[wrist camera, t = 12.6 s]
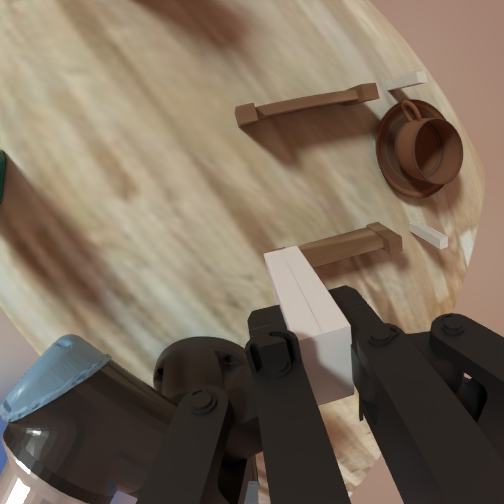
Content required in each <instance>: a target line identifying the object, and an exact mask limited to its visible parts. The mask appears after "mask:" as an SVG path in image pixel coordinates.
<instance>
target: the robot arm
mask: <svg viewBox="0 0 504 504" xmlns="http://www.w3.org/2000/svg"><path fill="white" fill-rule="evenodd" d="M264 257H265V261H266V266H267V270H268V274H269V279H270V283H271V287H272V291H273V296H274V300H275V304H276V305H275V306H271V307H267V308H263V309H259V310H255V311H252V312H251V314H250V316H249V318H248V327H249V334H250V340H249V341H248V342H247V344H246V346H245V350H244V349H243V348H242V347H240V346H238V345H237V344H235V343H232V342H230V341H227V340H224V339H220V338H215V337H191V338H186V339H183V340H180V341H177V342H175V343H173V344H172V345H170V346H169V347H167V348H166V349H165V350H164V351H163V352H162V353H161V355H160V356H159V358H158V360H157V363H156V367H155V370H154V375H153V383H154V388H152V387H151V386H149V385H147V384H146V383H144V382H143V381H141V380H140V379H138V378H137V377H135V376H134V375H133V374H131V373H130V372H128V371H127V370H125V369H124V368H122V367H121V366H120V365H118V364H117V363H115V362H114V361H113V360H111V358H112V357H111V356H110V355H109V354H104V353H102V352H101V351H100V350H98V349H97V348H95V347H94V346H92V345H91V344H90V343H88V342H87V341H85V340H84V339H83V338H81V337H79V336H77V335H72V334H69V335H64V336H62V337H60V338H59V339H58V340H57V341H55V342H54V343H53V344H52V345H51V346H50V347H49V348H48V349H47V350H46V351H45V352H44V354H43V355H42V356H41V357H40V358H39V359H38V360H37V361H36V362H35V363H34V365H33V366H32V367H31V368H30V369H29V370H28V371H27V372H26V373H25V375H24V376H23V377H22V378H21V380H20V381H19V382H18V383H17V384H16V385H15V387H14V388H13V389H12V390H11V392H10V393H9V394H8V396H7V397H6V399H5V400H4V402H3V403H2V404H1V405H0V415H1V416H2V418H3V420H4V421H5V422H6V423H9V424H8V426H7V427H6V430H5V431H4V433H3V435H2V443H3V445H4V448H5V450H6V453H7V456H8V461H7V463H6V465H5V467H4V469H3V471H2V473H1V475H0V504H110V502H111V500H112V498H113V497H114V495H115V493H116V491H121V492H124V493H126V494H128V495H131V496H133V497H135V498H138V500H137V502H136V504H258V488H259V486H260V485H259V482H258V474H257V466H256V457H255V454H257V453H260V452H262V451H263V454H264V461H265V468H266V475H267V481H268V488H269V494H270V501H271V504H351V502H350V499H349V496H348V493H347V490H346V487H345V484H344V481H343V478H342V475H341V472H340V469H339V466H338V463H337V460H336V457H335V454H334V451H333V448H332V446H331V443H330V440H329V437H328V434H327V431H326V428H325V425H324V422H323V419H322V417H321V414H320V411H319V408H318V406H319V405H322V404H325V403H329V402H332V401H335V400H339V399H342V398H345V397H348V396H351V395H354V385H355V387H356V389H357V391H358V393H359V419H360V421H362V420H363V414H364V416H365V418H366V421H367V423H368V425H369V427H370V429H371V431H372V433H373V436H374V438H375V440H376V442H377V444H378V446H379V449H380V451H381V453H382V455H383V457H384V459H385V462H386V464H387V466H388V468H389V470H390V473H391V475H392V477H393V480H394V482H395V484H396V486H397V489H398V491H399V493H400V495H401V498H402V500H403V502H404V504H504V337H502V336H500V335H499V334H497V333H495V332H493V331H491V330H490V329H488V328H486V327H484V326H483V325H481V324H479V323H477V322H475V321H473V320H472V319H470V318H468V317H466V316H463V315H461V314H454V313H449V314H443V315H441V316H439V317H437V318H436V319H435V320H434V321H433V322H432V325H431V330H430V331H428V332H421V333H414V334H405V333H404V332H403V331H402V330H401V329H400V328H399V327H397V326H395V325H392V324H389V323H383V321H382V320H381V319H380V318H379V317H378V315H377V314H376V313H375V312H374V311H373V309H372V308H371V307H370V306H369V304H367V302H366V301H365V300H364V299H363V298H362V296H361V295H360V294H359V293H358V291H357V290H355V289H353V288H351V287H349V286H346V285H345V286H341V287H338V288H334V289H331V290H327V289H326V288H325V286H324V285H323V283H322V282H321V280H320V279H319V277H318V276H317V274H316V273H315V271H314V270H313V269H312V267H311V266H310V264H309V263H308V261H307V260H306V258H305V257H304V255H303V254H302V253H301V251H300V250H299V248H298V247H297V246H293V247H289V248H285V249H281V250H277V251H273V252H269V253H265V254H264ZM464 373H466V374H468V375H469V376H470V377H472V378H471V379H468V378H466V377H464Z"/></svg>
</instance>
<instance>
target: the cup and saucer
mask: <svg viewBox="0 0 504 504" xmlns="http://www.w3.org/2000/svg"><path fill="white" fill-rule="evenodd" d="M376 156H377V160H378V164H379V166H380V169H381V171H382V173H383V175H384V177H385V178H386V180H387V181H388V182H389V183H390V185H391V186H392V187H394V188H395V189H396V190H397V191H398V192H400V193H402V194H404V195H406V196H409V197H413V198H424V197H428V196H430V195H432V194H434V193H436V192H437V191H439V190H440V189H441V188H442V187H443V186H444V184H446V183H449V182H450V181H452V180H453V179H454V178H455V177H456V176H457V174H458V172H459V171H460V168H461V165H462V161H463V146H462V141H461V138H460V136H459V134H458V132H457V130H456V129H455V128H454V126H453V125H452V124H450V123H449V122H448V121H446V119H445V118H444V116H443V115H442V114H441V113H440V112H439V111H438V110H437V109H436V108H435V107H433V106H432V105H430V104H428V103H426V102H424V101H421V100H404V101H402V102H399V103H397V104H396V105H394V106H393V107H391V108H390V109H389V110H388V111H387V112H386V114H385V115H384V116H383V118H382V120H381V122H380V124H379V127H378V130H377V135H376Z"/></svg>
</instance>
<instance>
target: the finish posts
mask: <svg viewBox="0 0 504 504" xmlns="http://www.w3.org/2000/svg"><path fill="white" fill-rule="evenodd" d="M385 83H386V87H387V90H396V89H400V88H405V87H409V86H414V85H418V84H423V83H428V81H427V77H426V73H425V71H422V72H413V73H409V74H406V75H403V76H399V77H396V78H393V79H389V80H386V81H385ZM409 226H410V232H412V233H414V234H415V235H417V236H419V237H421V238H422V239H424V240H426V241H427V242H429V243H431V244H432V245H434V246H435V247H437V248H439V249H443V248H446V247H448V237H447V236H445V235H444V234H442V233H440V232H438V231H436V230H434V229H432V228H430V227H428V226H426V225H425V224H423V223H421V222H419V221H417V220H416V221H413V222H409Z"/></svg>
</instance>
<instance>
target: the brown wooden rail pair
mask: <svg viewBox="0 0 504 504" xmlns="http://www.w3.org/2000/svg"><path fill="white" fill-rule="evenodd" d="M375 99H379V94H378V90H377V86H376V83H369V84H361V85H358V86H355V87H353V88H350V89H348V90H345V91H339V92H332V93H326V94H319V95H313V96H307V97H302V98H296V99H291V100H286V101H281V102H276V103H272V104H267V105H263V106H258V107H255V106H254V103H250V104H246V105H242V106H238V107H236V109H235V116H236V119H237V123H238V127H242V126H246V125H250V124H253V123H255V122H256V121H257V120H259V119H263V118H268V117H272V116H277V115H281V114H286V113H291V112H296V111H301V110H306V109H311V108H317V107H323V106H329V105H335V104H341V103H343V105H344V106H345V105H352V104H358V103H362V102H366V101H370V100H375ZM297 247H298V248H299V250H300V251H301V253H302V254H303V255H304V257H305V258H306V260H307V261H308V263H309V264H310V266H311V267H312V268H313V267H317V266H321V265H324V264H328V263H331V262H335V261H338V260H342V259H345V258H349V257H352V256H356V255H359V254H362V253H366V252H369V251H373V250H376V249H379V248H383V249H384V250H385V251H386V252H388V253H389V254H393V253H396V252H399V251H402V237H401V236H400V235H398V234H396V233H395V232H393V231H392V230H390V229H388V228H387V227H385V226H384V225H382V224H380V223H379V222H376V223H372V224H369V225H367V227H366V228H363V229H359V230H356V231H352V232H348V233H345V234H341V235H337V236H333V237H330V238H326V239H322V240H319V241H315V242H311V243H308V244H304V245H300V246H297ZM281 249H285V247H284V248H280V249H276V250H272V251H271V252H273V251H277V250H281Z"/></svg>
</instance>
